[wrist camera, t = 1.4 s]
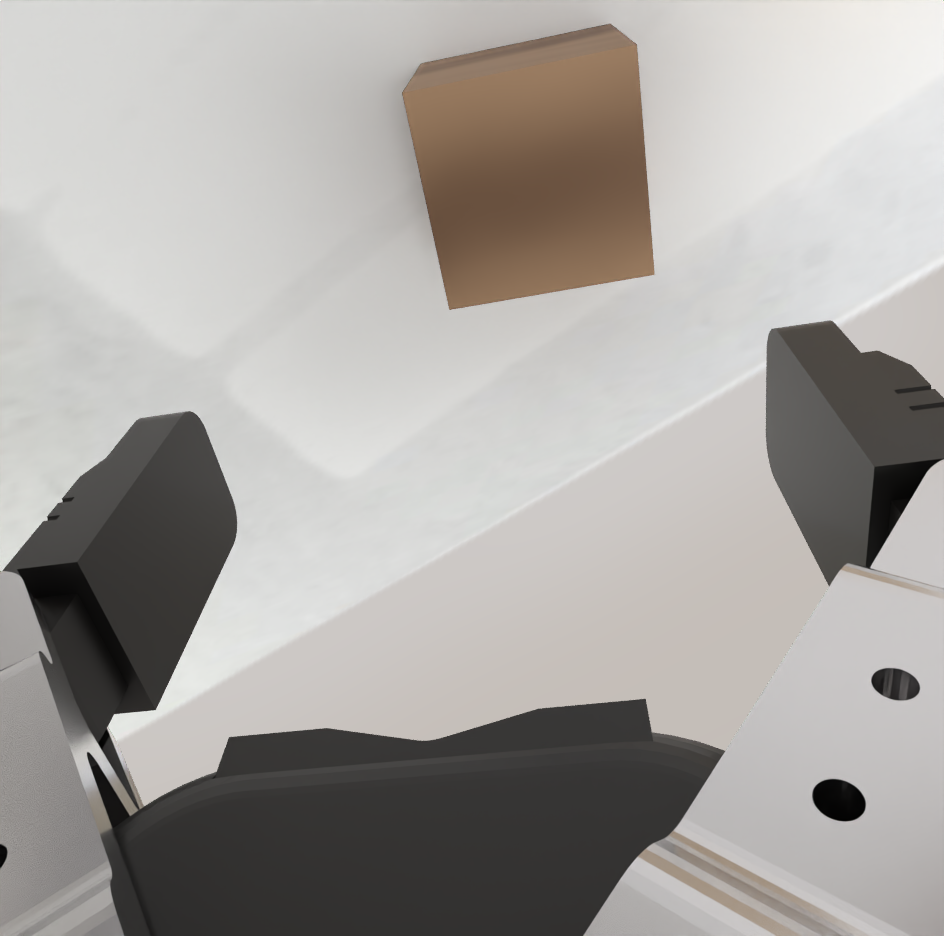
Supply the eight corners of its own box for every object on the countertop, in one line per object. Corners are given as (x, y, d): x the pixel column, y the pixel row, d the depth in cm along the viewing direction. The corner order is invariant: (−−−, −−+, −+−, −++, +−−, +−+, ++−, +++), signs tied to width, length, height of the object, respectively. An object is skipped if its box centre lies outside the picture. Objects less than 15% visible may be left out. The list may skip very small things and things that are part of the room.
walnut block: (421, 63, 26) (402, 92, 21) (610, 23, 26) (637, 44, 21) (458, 246, 30) (449, 309, 25) (627, 215, 29) (654, 274, 24)
